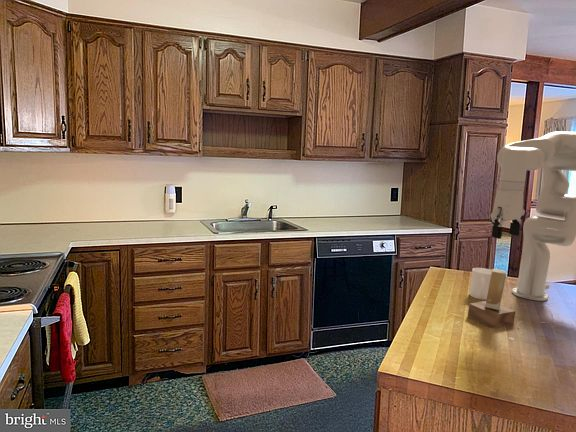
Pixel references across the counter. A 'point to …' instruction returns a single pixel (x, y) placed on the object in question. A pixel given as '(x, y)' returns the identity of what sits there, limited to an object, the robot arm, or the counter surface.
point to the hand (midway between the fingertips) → (505, 236)
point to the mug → (480, 283)
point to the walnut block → (491, 315)
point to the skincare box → (495, 289)
